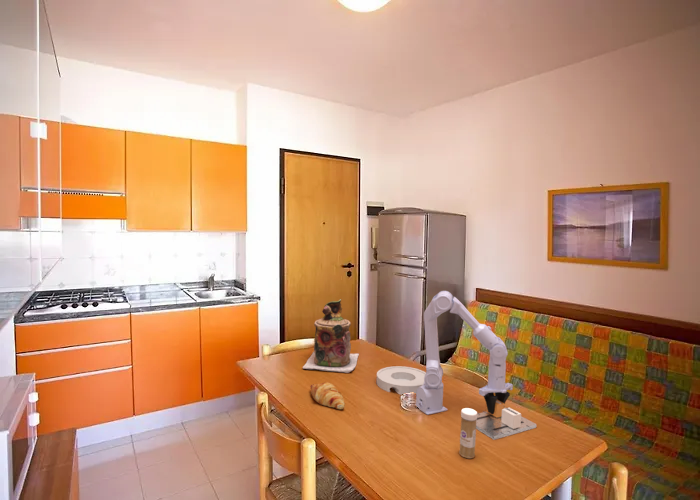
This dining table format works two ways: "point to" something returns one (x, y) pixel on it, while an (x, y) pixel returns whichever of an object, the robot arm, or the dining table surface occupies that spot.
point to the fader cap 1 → (497, 409)
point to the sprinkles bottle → (468, 432)
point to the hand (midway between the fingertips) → (495, 411)
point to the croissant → (327, 395)
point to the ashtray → (400, 379)
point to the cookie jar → (332, 342)
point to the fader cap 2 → (511, 418)
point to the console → (499, 426)
